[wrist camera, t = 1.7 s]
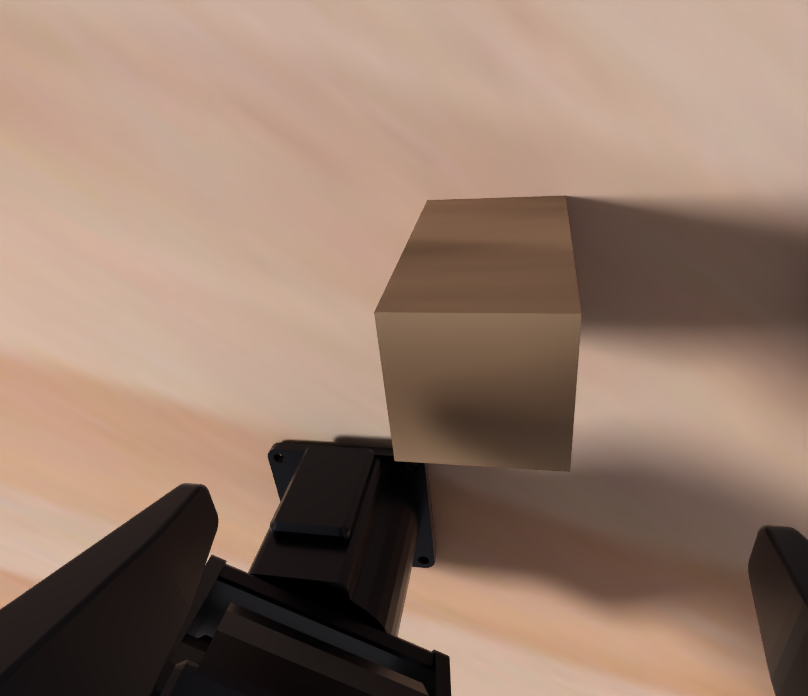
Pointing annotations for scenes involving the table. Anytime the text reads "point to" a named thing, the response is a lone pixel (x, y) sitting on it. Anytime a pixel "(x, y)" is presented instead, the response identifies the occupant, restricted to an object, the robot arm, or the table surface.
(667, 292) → the table surface
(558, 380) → the walnut post
